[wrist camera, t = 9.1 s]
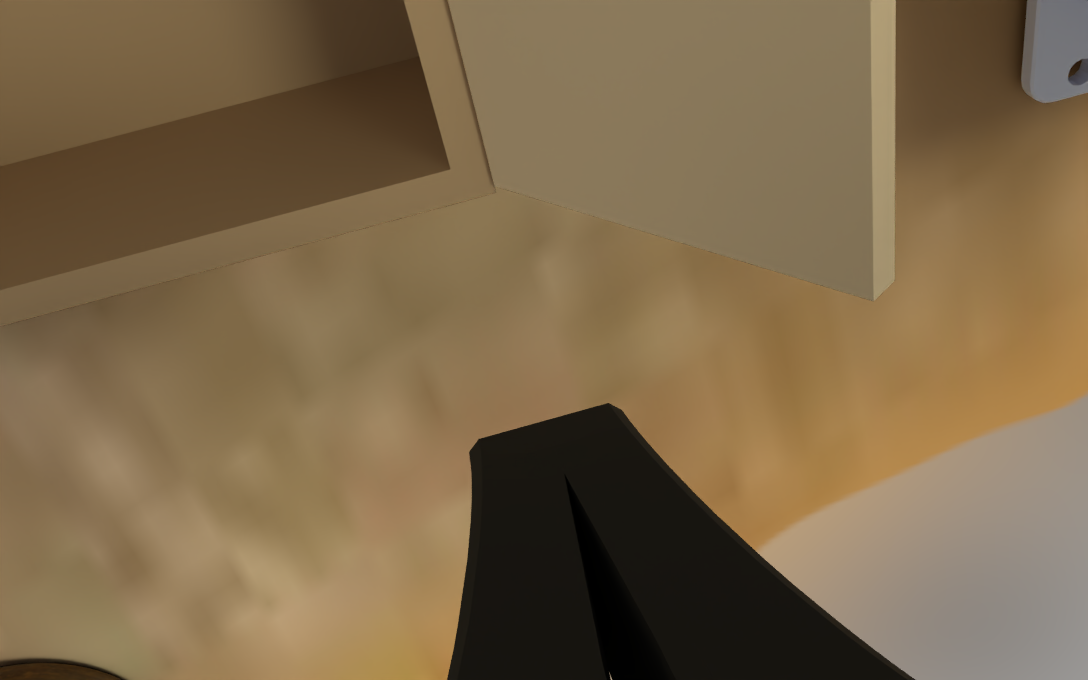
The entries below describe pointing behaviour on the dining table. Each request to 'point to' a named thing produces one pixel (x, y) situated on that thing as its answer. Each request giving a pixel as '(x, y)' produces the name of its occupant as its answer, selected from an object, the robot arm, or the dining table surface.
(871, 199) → the flap
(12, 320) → the carton
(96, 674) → the utensil holder
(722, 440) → the dining table surface
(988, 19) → the dining table surface
